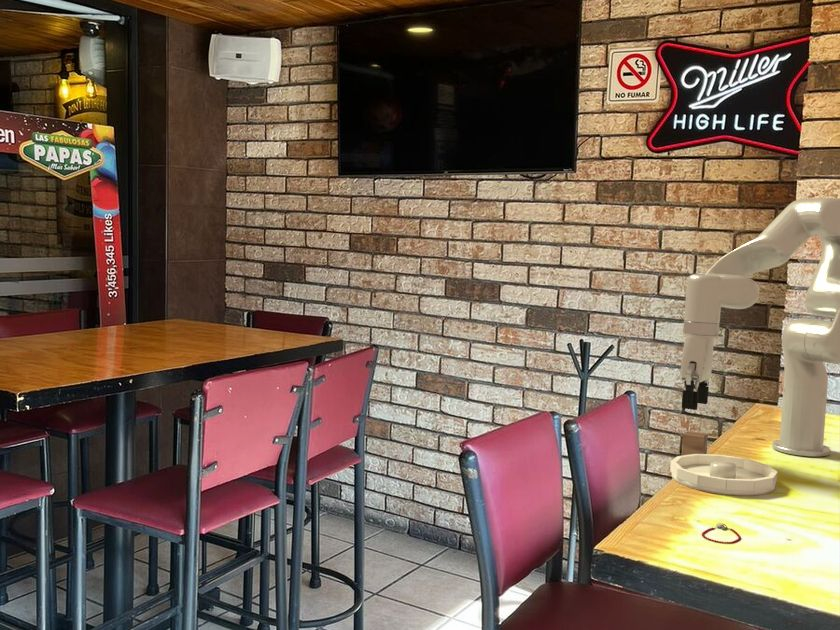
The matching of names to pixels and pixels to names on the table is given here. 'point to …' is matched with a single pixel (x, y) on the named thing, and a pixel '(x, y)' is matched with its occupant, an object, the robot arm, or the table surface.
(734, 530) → the red cord bracelet
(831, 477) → the table surface
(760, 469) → the dish
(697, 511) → the table surface
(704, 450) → the wooden brick
